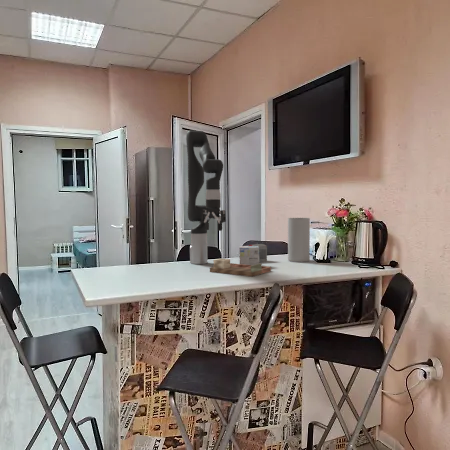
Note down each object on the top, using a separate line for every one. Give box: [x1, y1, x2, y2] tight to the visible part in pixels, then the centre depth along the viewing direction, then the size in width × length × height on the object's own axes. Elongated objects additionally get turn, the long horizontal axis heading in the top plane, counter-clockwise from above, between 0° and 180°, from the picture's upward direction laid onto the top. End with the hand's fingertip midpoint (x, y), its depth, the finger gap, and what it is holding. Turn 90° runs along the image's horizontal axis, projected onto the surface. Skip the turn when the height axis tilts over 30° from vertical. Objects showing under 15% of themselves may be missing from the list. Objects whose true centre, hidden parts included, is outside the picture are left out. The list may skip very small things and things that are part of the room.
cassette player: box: [248, 243, 268, 262], centre depth 233 cm, size 16×3×10 cm, turn 113°
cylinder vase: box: [287, 217, 311, 263], centre depth 233 cm, size 12×12×25 cm
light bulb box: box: [238, 245, 260, 265], centre depth 217 cm, size 11×7×11 cm, turn 84°
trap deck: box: [209, 262, 272, 277], centre depth 200 cm, size 25×18×5 cm
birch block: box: [213, 258, 231, 269], centre depth 201 cm, size 6×6×4 cm
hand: (213, 230), depth 204 cm, fingers open, 8 cm apart
